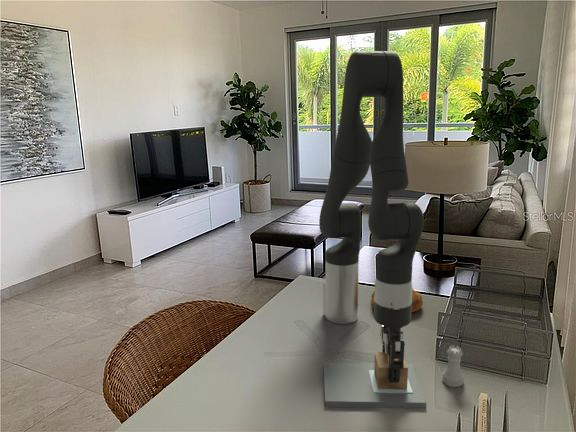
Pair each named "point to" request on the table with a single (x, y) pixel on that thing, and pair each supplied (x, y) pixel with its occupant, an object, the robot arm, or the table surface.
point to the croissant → (416, 301)
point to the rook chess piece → (453, 368)
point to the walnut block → (382, 373)
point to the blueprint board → (367, 388)
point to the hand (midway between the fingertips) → (390, 370)
